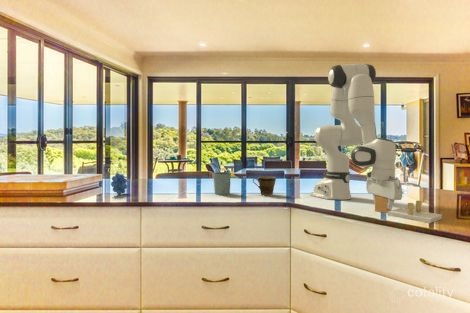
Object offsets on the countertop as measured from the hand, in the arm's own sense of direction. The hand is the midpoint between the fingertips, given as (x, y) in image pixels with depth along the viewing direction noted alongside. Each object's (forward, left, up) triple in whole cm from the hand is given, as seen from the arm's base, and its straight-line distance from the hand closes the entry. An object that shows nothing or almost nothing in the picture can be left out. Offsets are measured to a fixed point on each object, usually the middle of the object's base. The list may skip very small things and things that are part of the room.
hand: (382, 206), depth 139 cm
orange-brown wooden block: (0, 0, -2) cm, 2 cm away
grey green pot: (-78, -30, -2) cm, 84 cm away
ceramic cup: (-61, -13, -2) cm, 62 cm away
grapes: (-108, -77, -2) cm, 133 cm away
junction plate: (+13, 0, -2) cm, 13 cm away
